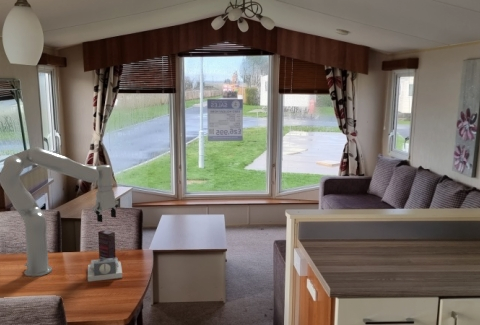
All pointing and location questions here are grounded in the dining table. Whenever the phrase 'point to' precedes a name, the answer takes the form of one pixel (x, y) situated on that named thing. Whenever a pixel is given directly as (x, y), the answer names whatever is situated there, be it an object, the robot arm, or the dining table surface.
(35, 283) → the dining table surface
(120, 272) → the scale base
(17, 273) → the dining table surface
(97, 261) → the pan
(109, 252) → the supplement box
